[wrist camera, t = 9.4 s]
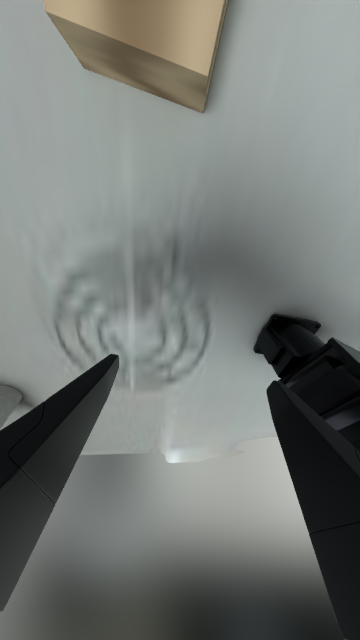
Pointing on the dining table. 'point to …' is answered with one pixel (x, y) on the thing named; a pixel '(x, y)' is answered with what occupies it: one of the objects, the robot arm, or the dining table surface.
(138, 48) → the block
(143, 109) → the dining table surface
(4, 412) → the house plant
